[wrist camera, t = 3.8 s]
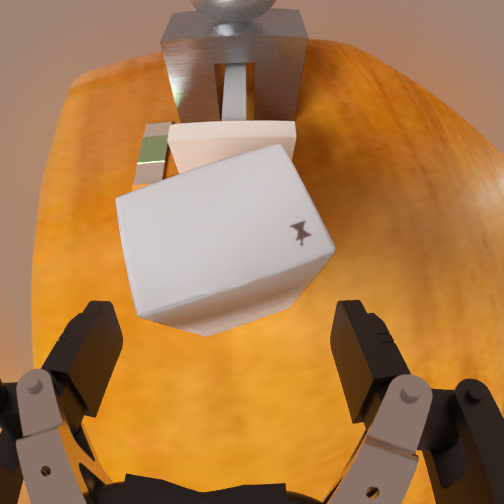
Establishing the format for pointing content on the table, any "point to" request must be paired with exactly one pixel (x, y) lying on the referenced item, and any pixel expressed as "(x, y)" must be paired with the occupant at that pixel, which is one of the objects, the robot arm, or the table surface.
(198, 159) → the gauge plunger
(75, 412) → the robot arm
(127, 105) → the table surface
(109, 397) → the table surface
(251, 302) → the skincare box
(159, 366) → the table surface
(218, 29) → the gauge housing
